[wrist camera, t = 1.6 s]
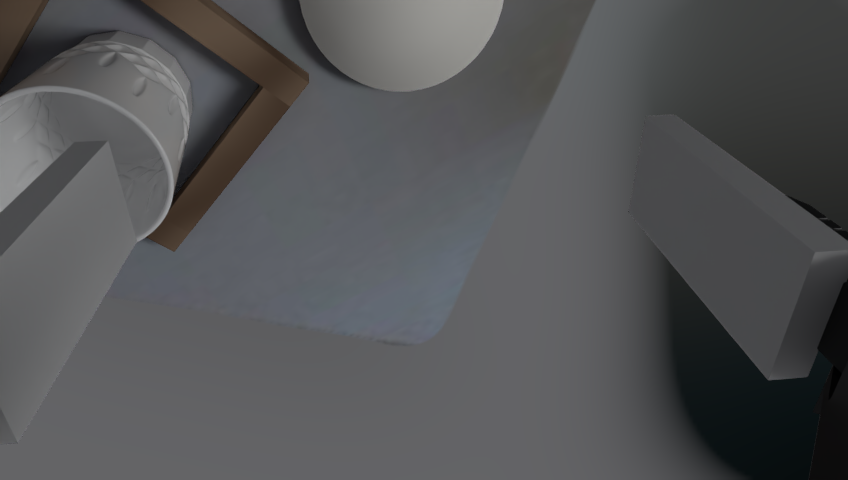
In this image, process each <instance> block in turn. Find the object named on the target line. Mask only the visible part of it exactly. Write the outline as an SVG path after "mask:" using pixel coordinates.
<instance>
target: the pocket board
mask: <svg viewBox="0 0 848 480" xmlns="http://www.w3.org/2000/svg"><path fill="white" fill-rule="evenodd" d="M48 1H49V0H0V84H1V82H2V80H3V79H4V77H5V75H6V74H7V72H8V70H9V68H10V67H11V65H12V63H13V61H14V60H15V58H16V56H17V55H18V53H19V51H20V49H21V48H22V46H23V44H24V42H25V41H26V39H27V37H28V35H29V34H30V32H31V30H32V29H33V27H34V25H35V23H36V22H37V20H38V18H39V16H40V15H41V13H42V11H43V10H44V8H45V6H46V4H47V3H48ZM141 1H142V2H144V3H145V4H146V5H148V6H149V7H151V8H152V9H153V10H155V11H156V12H158V13H159V14H160V15H162V16H163V17H165V18H166V19H167V20H169V21H170V22H172V23H173V24H174V25H176V26H177V27H179V28H180V29H181V30H183V31H184V32H186V33H187V34H189V35H190V36H191V37H193V38H194V39H196V40H197V41H198V42H200V43H201V44H203V45H204V46H205V47H207V48H208V49H210V50H211V51H212V52H214V53H215V54H217V55H218V56H219V57H221V58H222V59H224V60H225V61H227V62H228V63H229V64H231V65H232V66H234V67H235V68H236V69H238V70H239V71H241V72H242V73H243V74H245V75H246V76H248V77H249V78H250V79H252V80H253V81H255V82H256V83H257V84H259V87H258V88H257V89H256V91H255V92H254V93H253V95H252V96H251V97H250V98H249V100H248V101H247V102H246V104H245V105H244V106H243V108H242V109H241V110H240V112H239V113H238V114H237V116H236V117H235V118H234V119H233V121H232V122H231V123H230V125H229V126H228V127H227V129H226V130H225V131H224V133H223V134H222V135H221V136H220V138H219V139H218V140H217V142H216V143H215V144H214V146H213V147H212V148H211V150H210V151H209V152H208V153H207V155H206V156H205V157H204V159H203V160H202V161H201V163H200V164H199V165H198V167H197V168H196V169H195V171H194V172H193V173H192V174H191V176H190V177H189V178H188V180H187V181H186V182H185V184H184V185H183V186H182V188H181V189H180V190H179V191H178V193H177V194H176V195H175V197H174V198H173V199H172V203H171V206H170V209H169V211H168V213H167V215H166V217H165V218H164V220H163V221H162V223H161V224H160V225H159V226H158V227H157V228H156V229H155V230H154V231H153V232H152V233H151V234H149V235H148V236H147V238H149V239H151V240H153V241H154V242H156V243H158V244H160V245H162V246H164V247H166V248H168V249H170V250H172V251H174V252H175V250H176V249H177V248H178V247H179V245H180V244H181V243H182V242H183V240H184V239H185V238H186V237H187V235H188V234H189V233H190V232H191V230H192V229H193V228H194V226H195V225H196V224H197V223H198V221H199V220H200V219H201V218H202V216H203V215H204V214H205V213H206V211H207V210H208V209H209V208H210V206H211V205H212V204H213V203H214V201H215V200H216V199H217V198H218V196H219V195H220V194H221V193H222V191H223V190H224V189H225V188H226V186H227V185H228V184H229V183H230V181H231V180H232V179H233V178H234V176H235V175H236V174H237V173H238V171H239V170H240V169H241V168H242V166H243V165H244V164H245V163H246V161H247V160H248V159H249V158H250V156H251V155H252V154H253V153H254V151H255V150H256V149H257V148H258V146H259V145H260V144H261V142H262V141H263V140H264V139H265V137H266V136H267V135H268V134H269V132H270V131H271V130H272V129H273V127H274V126H275V125H276V124H277V122H278V121H279V120H280V119H281V117H282V116H283V115H284V114H285V112H286V111H287V110H288V109H289V107H290V106H291V105H292V104H293V102H294V101H295V100H296V99H297V97H298V96H299V95H300V94H301V92H302V91H303V90H304V89H305V87H306V86H307V85H308V84H309V74H308V73H307V72H306V71H304V70H303V69H302V68H300V67H299V66H298V65H296V64H295V63H294V62H292V61H291V60H290V59H288V58H287V57H286V56H284V55H283V54H282V53H280V52H279V51H278V50H276V49H275V48H274V47H272V46H271V45H270V44H268V43H267V42H266V41H264V40H263V39H262V38H260V37H259V36H258V35H256V34H255V33H254V32H252V31H251V30H250V29H248V28H247V27H246V26H245V25H243V24H242V23H241V22H239V21H238V20H237V19H235V18H234V17H233V16H231V15H230V14H229V13H227V12H226V11H225V10H223V9H222V8H221V7H219V6H218V5H217V4H215V3H214V2H213V1H211V0H141Z"/></svg>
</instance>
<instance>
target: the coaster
mask: <svg viewBox="0 0 848 480" xmlns="http://www.w3.org/2000/svg"><path fill="white" fill-rule="evenodd" d="M299 1H300V6H301V11H302V15H303V18H304V20H305V23H306V26H307V29H308V31H309V33H310V35H311V37H312V39H313V41H314V42H315V44H316V45H317V46H318V48H319V49H320V51H321V52H322V53H323V55H324V56H325V57H326V58H327V59H328V60H329V61H330V62H331V63H332V64H333V65H334V66H335V67H336V68H337V69H338V70H340V71H341V72H342V73H344V74H345V75H347V76H348V77H350V78H352V79H354V80H355V81H357V82H359V83H361V84H364V85H367V86H370V87H372V88H376V89H381V90H385V91H396V92H402V91H414V90H420V89H425V88H428V87H431V86H435V85H437V84H439V83H441V82H444V81H446V80H448V79H449V78H451V77H453V76H454V75H456V74H458V73H459V72H460V71H461V70H463V69H464V68H465V67H467V66H468V65H469V64H470V63H471V62H472V61H473V60H474V59H475V58H476V57H477V55H478V54H479V53H480V52H481V50H482V49H483V48H484V47H485V45H486V43H487V42H488V40H489V39H490V37H491V35H492V33H493V31H494V29H495V27H496V25H497V22H498V19H499V16H500V13H501V10H502V6H503V1H504V0H299Z"/></svg>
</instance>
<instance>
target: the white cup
mask: <svg viewBox="0 0 848 480" xmlns="http://www.w3.org/2000/svg"><path fill="white" fill-rule="evenodd" d="M192 111H193V104H192V94H191V84H190V81H189V80H188V78H187V76H186V75H185V73H184V72H183V70H182V68H181V67H180V65H179V63H178V62H177V60H176V58H175V57H173V56H172V55H171V54H169V53H168V52H167V51H165V50H164V49H163V48H161V47H160V46H159V45H157V44H156V43H155V42H153V41H152V40H151V39H148V38H144V37H141V36H137V35H133V34H130V33H126V32H122V31H113V32H107V33H100V34H94V35H89V36H88V37H86V38H85V39H84V40H83V41H81V42H80V43H79V44H77V45H76V46H75V47H73V48H71V49H68V50H66V51H63V52H61V53H60V54H58V55H57V56H56V57H54V58H52V59H51V60H49V61H47V62H46V63H45V64H43V65H42V66H41V67H39V68H38V69H37V70H35V71H34V72H33V73H31V74H30V75H28V76H27V77H26V78H24V79H23V80H22V81H20V82H19V83H18V84H16V85H15V86H14V87H12V88H11V89H10V90H8V91H7V92H6V93H4V94H3V95H1V96H0V212H1V211H3V210H4V209H5V208H6V207H7V206H8V205H9V204H10V203H11V202H12V201H13V200H14V199H15V198H16V197H17V196H18V195H19V194H20V193H21V192H22V191H23V190H25V189H26V188H27V187H28V186H29V185H30V184H31V183H32V182H33V181H34V180H35V179H36V178H37V177H38V176H39V175H40V174H41V173H42V172H43V171H44V170H46V169H47V168H48V167H49V166H50V165H51V164H52V163H53V162H54V161H55V160H56V159H57V158H58V157H59V156H60V155H61V154H62V153H63V152H64V151H65V150H67V149H68V148H69V147H70V146H71V145H72V144H73V143H74V142H86V141H108V142H109V145H110V149H111V152H112V156H113V159H114V162H115V166H116V169H117V173H118V176H119V180H120V183H121V187H122V190H123V194H124V197H125V201H126V204H127V208H128V211H129V215H130V218H131V222H132V225H133V229H134V232H135V236H136V239H137V242H139V241H140V240H142V239H144V238H145V237H147V236H148V235H149V234H151V233H152V232H153V231H154V230H155V229H156V228H157V227H158V226H159V225H160V224H161V223H162V221H163V220H164V218H165V217H166V215H167V213H168V211H169V209H170V206H171V203H172V199H173V195H174V191H175V187H176V183H177V179H178V175H179V171H180V167H181V164H182V160H183V156H184V152H185V147H186V142H187V138H188V132H189V121H190V118H191V114H192ZM137 242H136V243H137Z"/></svg>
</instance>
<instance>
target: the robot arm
mask: <svg viewBox="0 0 848 480" xmlns="http://www.w3.org/2000/svg"><path fill="white" fill-rule="evenodd" d="M628 212H629V213H630V215H631V216H632V217H633V218H634V220H635V221H636V222H637V223H638V224H639V225H640V227H641V228H642V229H643V230H644V232H645V233H646V234H647V235H648V236H649V238H650V239H651V240H652V241H653V242H654V244H655V245H656V246H657V247H658V248H659V249H660V251H661V252H662V253H663V254H664V256H665V257H666V258H667V259H668V260H669V262H670V263H671V264H672V265H673V266H674V268H675V269H676V270H677V271H678V272H679V274H680V275H681V276H682V277H683V278H684V280H685V281H686V282H687V283H688V284H689V286H690V287H691V288H692V289H693V290H694V292H695V293H696V294H697V295H698V296H699V298H700V299H701V300H702V301H703V302H704V304H705V305H706V306H707V307H708V308H709V310H710V311H711V312H712V313H713V314H714V316H715V317H716V318H717V319H718V321H719V322H720V323H721V324H722V325H723V326H724V328H725V329H726V330H727V331H728V333H729V334H730V335H731V336H732V337H733V338H734V340H735V341H736V342H737V343H738V345H739V346H740V347H741V348H742V349H743V351H744V352H745V353H746V354H747V355H748V356H749V358H750V359H751V360H752V361H753V362H754V364H755V365H756V366H757V367H758V369H759V370H760V371H761V372H762V373H763V374H764V376H765V377H766V378H767V379H768V380H777V379H788V378H800V377H808V374H809V372H810V370H811V367H812V365H813V362H814V360H815V357H816V355H817V353H818V350H819V351H820V352H821V353H822V354H823V355H824V356H825V357H826V358H827V359H828V360H829V361H830V362H831V363H832V364H833V366H832V368H831V371H830V373H829V375H828V378H827V380H826V382H825V385H824V387H823V389H822V392H821V394H820V396H819V399H818V401H817V403H816V406H815V408H814V410H813V412H814V413H817V414H820V418H819V424H818V429H817V435H816V441H815V446H814V452H813V458H812V464H811V470H810V475H809V480H848V232H847V231H842V228H841V227H840V226H839V225H837V224H836V223H834V222H833V221H831V220H828V218H827V217H826V216H824V215H823V214H822V213H820V212H819V211H817V210H816V209H815V208H813V207H812V206H810V205H808V204H806V203H804V202H801V201H799V200H797V199H794V198H792V197H789V196H787V195H784V194H783V193H781V192H780V191H779V190H777V189H776V188H775V187H773V186H772V185H770V184H769V183H768V182H766V181H765V180H764V179H762V178H761V177H759V176H758V175H757V174H755V173H754V172H753V171H751V170H750V169H748V168H747V167H746V166H744V165H743V164H742V163H740V162H739V161H738V160H736V159H735V158H733V157H732V156H731V155H729V154H728V153H727V152H725V151H724V150H722V149H721V148H720V147H718V146H717V145H715V144H714V143H713V142H711V141H710V140H709V139H707V138H706V137H705V136H703V135H702V134H701V133H699V132H698V131H696V130H695V129H694V128H692V127H691V126H689V125H688V124H687V123H685V122H684V121H683V120H681V119H680V118H678V117H677V116H676V115H655V116H645V122H644V127H643V133H642V138H641V144H640V150H639V155H638V161H637V167H636V172H635V179H634V183H633V189H632V194H631V200H630V206H629V211H628ZM136 242H137V239H136V236H135V232H134V229H133V225H132V222H131V218H130V215H129V211H128V208H127V204H126V201H125V197H124V194H123V190H122V187H121V183H120V180H119V176H118V173H117V169H116V166H115V162H114V159H113V156H112V152H111V149H110V145H109V142H108V141H86V142H74V143H73V144H72V145H71V146H70V147H69V148H68V149H67V150H65V151H64V152H63V153H62V154H61V155H60V156H59V157H58V158H57V159H56V160H55V161H54V162H53V163H52V164H51V165H50V166H49V167H48V168H47V169H46V170H44V171H43V172H42V173H41V174H40V175H39V176H38V177H37V178H36V179H35V180H34V181H33V182H32V183H31V184H30V185H29V186H28V187H27V188H26V189H25V190H23V191H22V192H21V193H20V194H19V195H18V196H17V197H16V198H15V199H14V200H13V201H12V202H11V203H10V204H9V205H8V206H7V207H6V208H5V209H4V210H3V211H1V212H0V445H2V444H15V443H18V442H19V441H20V439H21V437H22V435H23V434H24V432H25V430H26V428H27V427H28V425H29V423H30V422H31V420H32V419H33V417H34V415H35V413H36V412H37V410H38V408H39V407H40V405H41V403H42V402H43V400H44V398H45V396H46V395H47V393H48V391H49V390H50V388H51V386H52V385H53V383H54V381H55V379H56V378H57V376H58V374H59V373H60V371H61V369H62V368H63V366H64V364H65V363H66V361H67V359H68V357H69V356H70V354H71V352H72V351H73V349H74V347H75V346H76V344H77V342H78V341H79V339H80V337H81V335H82V334H83V332H84V330H85V329H86V327H87V325H88V324H89V321H90V320H91V318H92V317H93V315H94V313H95V312H96V310H97V308H98V307H99V305H100V303H101V301H102V300H103V298H104V296H105V295H106V293H107V291H108V290H109V288H110V286H111V285H112V283H113V281H114V279H115V278H116V276H117V274H118V273H119V271H120V269H121V268H122V266H123V264H124V262H125V261H126V259H127V257H128V256H129V254H130V252H131V251H132V249H133V247H134V246H135V244H136Z"/></svg>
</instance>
